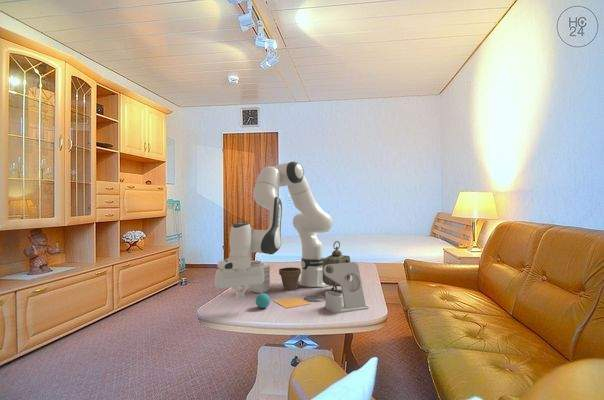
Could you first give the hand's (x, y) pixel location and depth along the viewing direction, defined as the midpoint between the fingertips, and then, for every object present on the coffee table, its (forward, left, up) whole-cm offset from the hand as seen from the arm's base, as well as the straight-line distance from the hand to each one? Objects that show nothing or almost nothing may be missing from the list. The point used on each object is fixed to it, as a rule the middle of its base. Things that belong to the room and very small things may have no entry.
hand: (240, 296), depth 134 cm
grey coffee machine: (-40, +18, -6) cm, 45 cm away
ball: (-10, 0, -3) cm, 10 cm away
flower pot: (-35, -22, -6) cm, 42 cm away
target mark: (-24, 0, -6) cm, 25 cm away
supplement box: (-20, -26, -6) cm, 33 cm away
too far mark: (-36, 0, -6) cm, 37 cm away
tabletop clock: (-52, -5, -6) cm, 53 cm away
